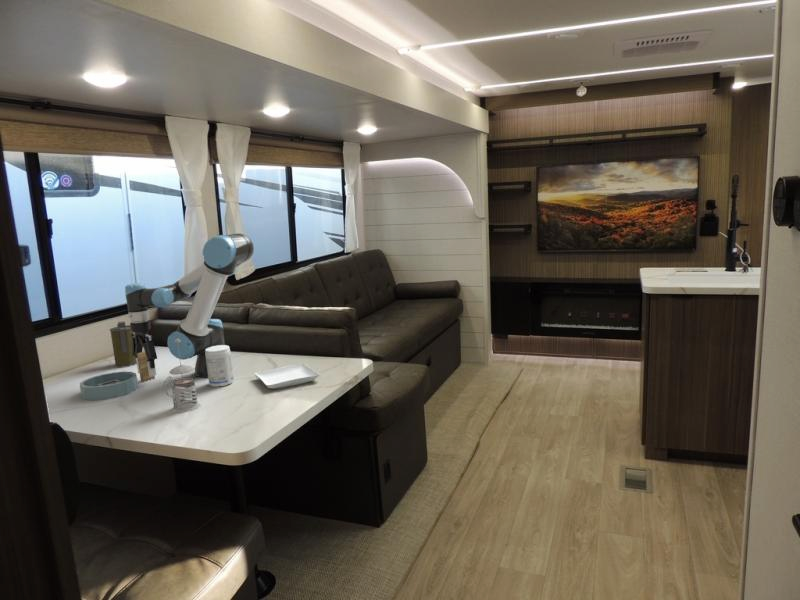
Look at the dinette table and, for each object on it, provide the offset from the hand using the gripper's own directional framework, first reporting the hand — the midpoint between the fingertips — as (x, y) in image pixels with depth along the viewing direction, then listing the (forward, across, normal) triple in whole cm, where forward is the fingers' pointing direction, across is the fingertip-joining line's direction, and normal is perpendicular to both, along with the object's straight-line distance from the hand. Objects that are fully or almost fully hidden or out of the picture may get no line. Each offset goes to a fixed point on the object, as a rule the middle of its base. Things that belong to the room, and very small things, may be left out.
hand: (147, 373), depth 243 cm
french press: (+3, +47, -11) cm, 48 cm away
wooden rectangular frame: (+3, 0, 0) cm, 3 cm away
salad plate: (+3, +55, +29) cm, 62 cm away
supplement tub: (+3, +34, +13) cm, 37 cm away
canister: (+3, -35, +8) cm, 36 cm away
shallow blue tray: (+3, +1, -16) cm, 16 cm away
